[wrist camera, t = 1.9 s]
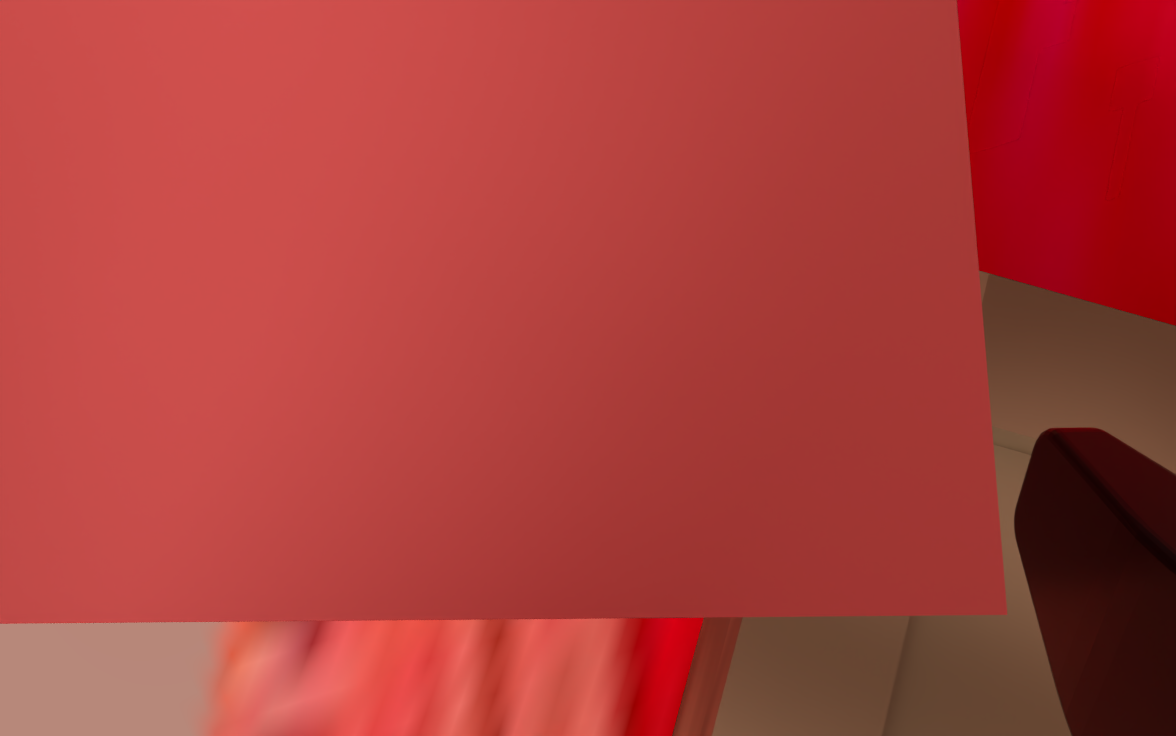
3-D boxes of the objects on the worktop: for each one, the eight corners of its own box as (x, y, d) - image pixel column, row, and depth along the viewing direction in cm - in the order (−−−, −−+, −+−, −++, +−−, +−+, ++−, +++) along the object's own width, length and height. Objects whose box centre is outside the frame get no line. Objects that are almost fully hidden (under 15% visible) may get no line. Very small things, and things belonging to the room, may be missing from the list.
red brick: (706, 585, 17) (1006, 614, 5) (339, 589, 17) (-270, 626, 5) (696, 234, 18) (919, -449, 6) (351, 237, 18) (-119, -443, 6)
